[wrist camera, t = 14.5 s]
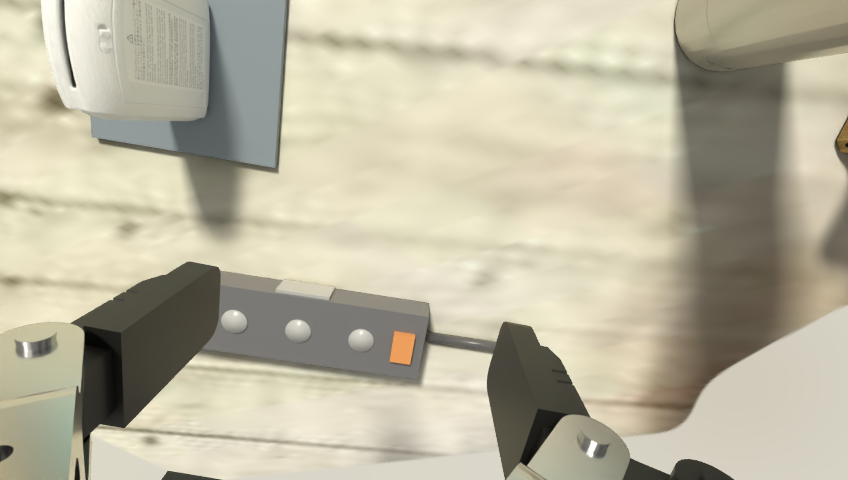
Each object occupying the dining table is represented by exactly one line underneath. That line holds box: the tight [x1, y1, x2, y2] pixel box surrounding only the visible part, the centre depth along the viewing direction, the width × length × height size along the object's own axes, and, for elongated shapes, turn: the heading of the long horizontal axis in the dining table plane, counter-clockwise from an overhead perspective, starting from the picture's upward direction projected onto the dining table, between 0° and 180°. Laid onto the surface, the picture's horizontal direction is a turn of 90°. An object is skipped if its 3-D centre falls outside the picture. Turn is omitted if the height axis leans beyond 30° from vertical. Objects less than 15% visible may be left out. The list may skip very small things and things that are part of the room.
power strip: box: [202, 271, 496, 380], centre depth 40 cm, size 7×37×4 cm, turn 80°
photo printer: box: [41, 0, 210, 121], centre depth 28 cm, size 10×4×12 cm, turn 171°
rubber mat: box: [90, 0, 288, 168], centre depth 34 cm, size 16×16×1 cm
